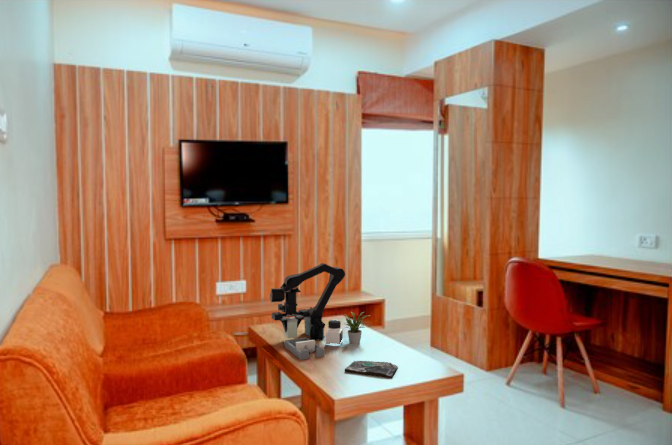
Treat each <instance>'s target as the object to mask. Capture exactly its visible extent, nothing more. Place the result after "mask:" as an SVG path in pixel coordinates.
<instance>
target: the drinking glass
mask: <svg viewBox="0 0 672 445" xmlns="http://www.w3.org/2000/svg"><path fill="white" fill-rule="evenodd" d="M306 310H307V311H309V310H310V308H309V309H306ZM303 318H304V319H303V320H304V334H305V335H307V336H310V329H311V327H312V325H311V323H310V322H309V321H308V320H307V317H304V316H303ZM321 321H322V322H323V318H322V319H321Z"/></svg>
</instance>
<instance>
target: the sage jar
mask: <svg viewBox="0 0 672 445" xmlns="http://www.w3.org/2000/svg"><path fill="white" fill-rule="evenodd" d="M285 319H286V320H287V332H285V330H284V329H283V330H284V331H283V333H284V337H285V338H287V339H292V338H293V339H295V338H298V328H297V322H298V319H296V318H295V316H291V317H285Z"/></svg>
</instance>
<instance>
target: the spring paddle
mask: <svg viewBox="0 0 672 445" xmlns="http://www.w3.org/2000/svg"><path fill="white" fill-rule="evenodd" d="M315 343H316V340H308V341H301V342H296V346H295V347H296V348H297V349H298V350H300V351H301V352H302V350H307V349H308V350H309V354H311V353H313V352H316V351H315Z"/></svg>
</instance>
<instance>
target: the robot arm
mask: <svg viewBox="0 0 672 445" xmlns="http://www.w3.org/2000/svg"><path fill="white" fill-rule="evenodd" d="M322 273H327V274H329V277H328V282H327V283H326V286H325V288H324V289H323V291H322V293H321V295H320V297H319V299H318V301H317V303H316V304H315V306H314V307H312V306H310V308H309V309H310V310H309V311H307V309H305V308H304V309H298V310H297V307H298V303H297V299H298V298H297V297H298V296H297V293H301V292H302V291H301V290H300V289H299V286H300V285H301V284H302V283H303V282H305V281H307V280H309V279H311V278H313V277H315V276H317V275H320V274H322ZM345 276H346V273H345V269H343V268H341V267H339V266H331V265H328V264H326V263H324V262H322V263H320V264H318V265H316V266H313V267H311V268H309V269H307V270H304V271H303V272H301V273H295V274H290V275H287V276H286V277H285V278H284V280H283V281H284V282H283V283H282V284H281V286H280V288H273V287H272V288H271V289H270V293H269V301H270V303H279V302H281V303H279V304H278V305H277V309H278V311H276V312H272V313H271V319H272V320H274V321H280V322H281V323H282V326H283V330H285V332H287V320H286V319H285V318H290V317H294V318H296V319H298V322H297V329H298V328H299V326H300V324H301V323H302V320H304V317H307V320H308V321H309V322H310V323H311V325H312V327H311V329H310V335H309V339H310V340H315V341H324V339H325V338H326V335H325V328H326V324H325V322H324V321H323V315H324V310H325V308H326V306H327V304H328V302H329V300H330V298H331V296H332V295H333V292H334V291H335V289H336V288H337V286H338V285H339V284H340V283H341V282H342V281H343V280H344V278H345ZM284 300H285V301H284ZM283 301H284V304H283V303H282V302H283ZM280 311H281V312H280ZM321 319H322V321H321Z"/></svg>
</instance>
